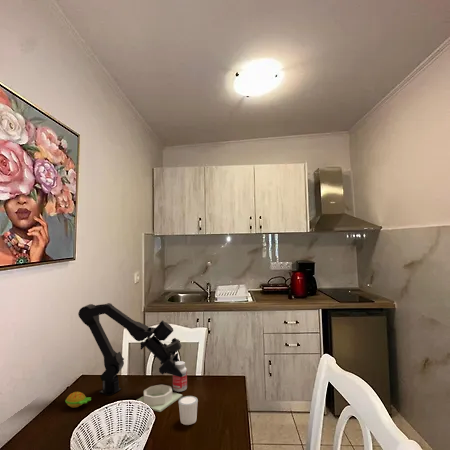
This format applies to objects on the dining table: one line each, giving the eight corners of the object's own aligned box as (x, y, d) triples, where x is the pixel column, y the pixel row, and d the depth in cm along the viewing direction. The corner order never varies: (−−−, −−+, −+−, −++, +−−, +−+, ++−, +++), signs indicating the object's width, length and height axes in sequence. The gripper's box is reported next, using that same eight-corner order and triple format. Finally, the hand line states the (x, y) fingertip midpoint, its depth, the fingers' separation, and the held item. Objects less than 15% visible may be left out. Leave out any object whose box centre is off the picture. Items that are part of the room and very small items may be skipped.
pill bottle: (183, 392, 134) (182, 366, 135) (170, 391, 136) (169, 364, 136) (189, 386, 140) (188, 360, 141) (176, 385, 142) (176, 359, 142)
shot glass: (194, 426, 108) (194, 405, 109) (175, 424, 110) (175, 404, 110) (200, 416, 115) (200, 396, 116) (182, 414, 117) (182, 394, 117)
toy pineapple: (73, 401, 129) (74, 387, 129) (94, 404, 126) (94, 390, 127) (61, 409, 122) (61, 395, 123) (82, 412, 120) (82, 398, 120)
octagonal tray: (132, 404, 125) (132, 394, 126) (156, 389, 138) (156, 381, 138) (160, 412, 119) (159, 402, 119) (182, 396, 131) (182, 387, 131)
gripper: (166, 340, 130) (194, 367, 129) (173, 328, 149) (197, 352, 148) (147, 361, 129) (175, 388, 129) (156, 346, 148) (180, 370, 147)
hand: (182, 373), depth 138 cm, fingers closed on pill bottle, 6 cm apart
